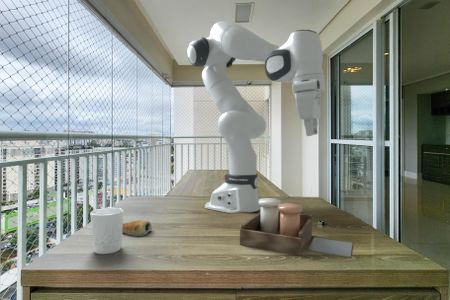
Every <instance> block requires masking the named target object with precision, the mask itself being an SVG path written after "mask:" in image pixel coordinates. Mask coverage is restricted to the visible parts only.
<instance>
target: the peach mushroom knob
mask: <svg viewBox="0 0 450 300" xmlns="http://www.w3.org/2000/svg"><path fill="white" fill-rule="evenodd" d="M278 211H280V235H285V236H291V237H298V233H299V232H300V214H302V212H303V205H301V204H298V203H291V202H290V203H289V202H287V203H284V202H283V203H281V204H279V205H278Z"/></svg>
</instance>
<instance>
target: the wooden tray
mask: <svg viewBox="0 0 450 300" xmlns="http://www.w3.org/2000/svg"><path fill="white" fill-rule="evenodd" d="M260 221H261V208H260V209H259V210H258V213H256V214H255V215H253V216H252V217H251V218H249V219H248V220H246V221H245V222H243V223H242V224H240V229H239V245H241V246H247V247H250V248H251V247H252V248H258V249H263V250H267V251H268V250H269V251H273V252H280V253H286V254H291V255H297V256H301V255H302V254H303V252H304V250H305V248H306V247H307V245H308V243H309V241H310V239H311V238H312V236H313V214H308V213H305V214H304V213H300V232H299V233H298V237H291V236H285V235H280V211H278V234H272V233H265V232H260Z"/></svg>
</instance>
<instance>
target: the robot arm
mask: <svg viewBox="0 0 450 300" xmlns="http://www.w3.org/2000/svg"><path fill="white" fill-rule="evenodd" d="M186 50H187V51H186V55H187V59H188V62H189V63H190V64H191V65H192V66H193V67H195V68H203V70H202V73H201V79H202V82H203V84H204V86H205V89H206V91H207V93H208V95H209V97H210V98H211V100H212V102H213V104H214V105H215V107H216V109H217V110H218V111H219V112H220V113H222V114H221V115H220V116H219V118H218V120H217V129H218V133H220V135H221V136H222V137H223V139H224V141H225V145H226V148H227V151H228V152H227V153H228V173H227V174H225V175H223V180H224V182H223V183H222V184H221V185H220V186H219V187H217V188H216V189H215V190H213V191H212V193H211V195H210V201H208V202H206V203H205V205H204V209H208V210H212V211H218V212H222V213H227V214H231V213H232V214H237V213H254V212H259V209H261V206H260V205H259V197H258V196H259V195H258V186H259V178H258V177H259V176H258V173H257V172H258V171H257V170H258V169H257V168H258V165H257V164H258V163H257V162H258V161H257V160H258V158H257V157H258V156H257V153H256V151H255V150H254V147H253V145H252V140H253V139H256V138H259V137H260V136H262V135H263V134H264V133H265V132H266V128H267V123H266V119H265V118H264V117H263V116H262V115H260V114H259V113H258V112H257V111H256V110H255V109H254V107H252V106H251V104H250V103H249V102H248V101H247V100H246V99H245V97H243V95H242V94H241V92H240V91H239V90H238V88H237V87H236V85H235V84H234V82H233V80H232V79H231V77H230V75H229V74H228V72H227V68H231V67H232V66H233V63H234V62H235V61H236V59H237V60H241V61H254V62H262V63H264V73H265V76H266V77H267V78H268V79H269V80H271V81H272V82H279V83H292V84H291V89H292V93H293V94H292V95H293V96H294V98H295V105H296V110H297V115H298V118H299V120H303V124H304V129H305V135H306V137H312V136H314V135H318V133H319V131H318V125H319V121H318V120H321V118H322V111H321V102H320V99H321V97H322V94H321V93H324V92H326V86H325V85H326V84H325V73H324V70H323V60H324V57H323V47H322V41H321V37H320V35H319V33H318V32H317V31H315V30H310V29H297V30H295V31H292V33H290V35H289V37H288V39H287V40H286V41H285V42H284V43H283V44H282V45H280V46H278V45H275V44H273V43H271V42H269V41H267V40H266V39H264V38H263V37H260V36H259V35H257V34H256V33H254V32H252V31H251V30H250V29H247V28H246V27H244V26H242V25H240V24H237V23H235V22H231V21H225V20H224V21H223V20H221V21H217V22H215V23H214V25H213V26H212V27H211V30H210V34H209V36H208V37H203V36H201V37H200V38H199V37H198V38H197V39H194V40H193V41H191V42H190V43H189V44H188V46H187V49H186Z"/></svg>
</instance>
